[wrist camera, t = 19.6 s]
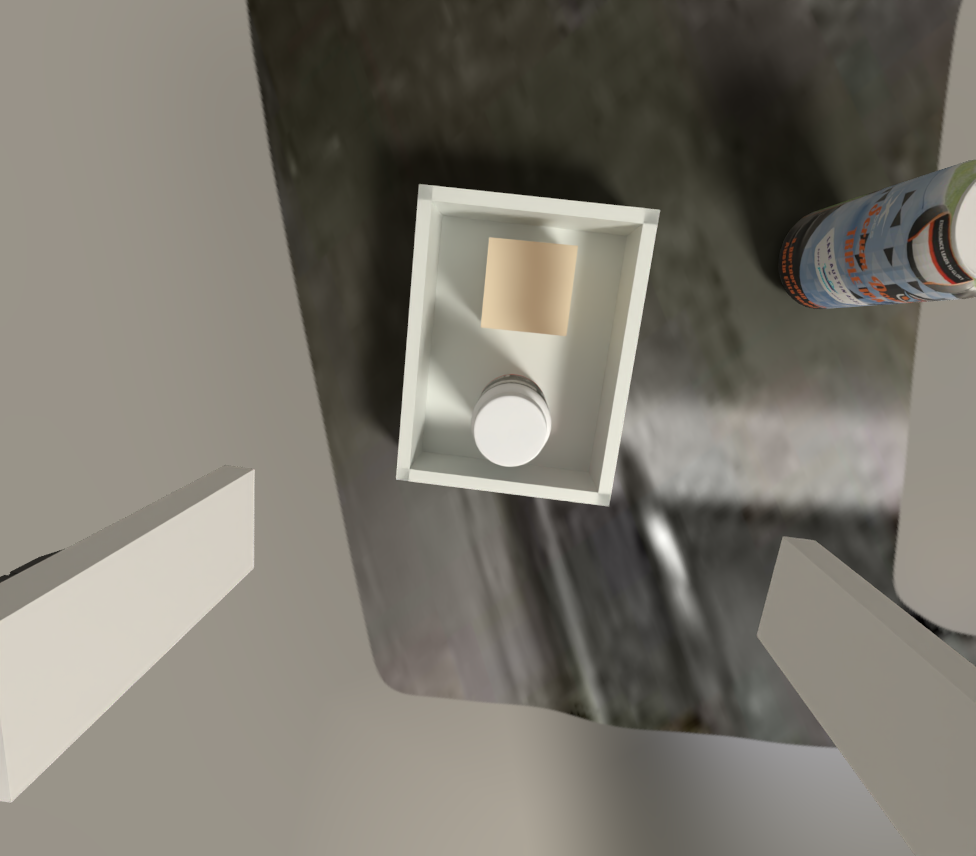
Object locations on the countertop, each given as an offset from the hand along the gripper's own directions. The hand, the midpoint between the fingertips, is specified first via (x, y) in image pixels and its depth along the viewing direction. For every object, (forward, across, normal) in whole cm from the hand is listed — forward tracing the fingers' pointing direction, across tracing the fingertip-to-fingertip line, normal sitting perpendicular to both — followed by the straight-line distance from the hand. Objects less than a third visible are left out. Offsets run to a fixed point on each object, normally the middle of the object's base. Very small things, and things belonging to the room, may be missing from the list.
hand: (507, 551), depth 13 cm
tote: (+24, 0, +3) cm, 24 cm away
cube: (+24, 0, +7) cm, 25 cm away
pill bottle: (+24, 0, -1) cm, 24 cm away
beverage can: (+25, +19, +11) cm, 33 cm away
